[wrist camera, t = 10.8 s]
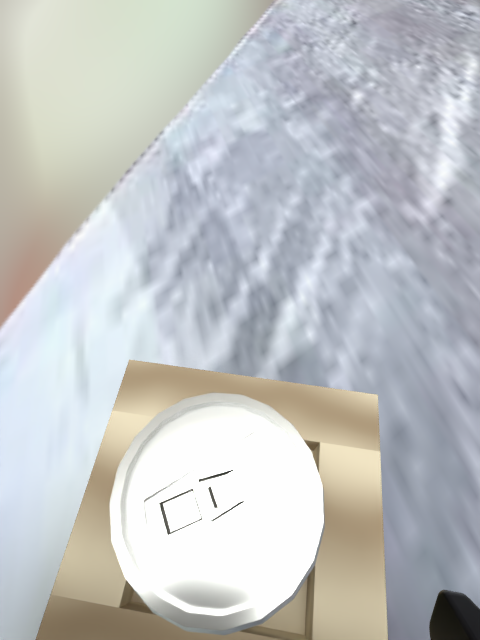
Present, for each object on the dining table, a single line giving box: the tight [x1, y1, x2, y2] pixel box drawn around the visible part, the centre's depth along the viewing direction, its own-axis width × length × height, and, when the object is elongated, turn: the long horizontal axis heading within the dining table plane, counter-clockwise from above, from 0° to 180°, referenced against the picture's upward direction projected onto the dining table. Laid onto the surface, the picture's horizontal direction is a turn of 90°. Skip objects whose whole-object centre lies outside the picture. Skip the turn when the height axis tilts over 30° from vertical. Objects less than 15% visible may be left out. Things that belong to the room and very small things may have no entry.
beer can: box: [109, 392, 325, 635], centre depth 14 cm, size 5×5×12 cm
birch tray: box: [36, 360, 388, 640], centre depth 19 cm, size 14×14×4 cm
